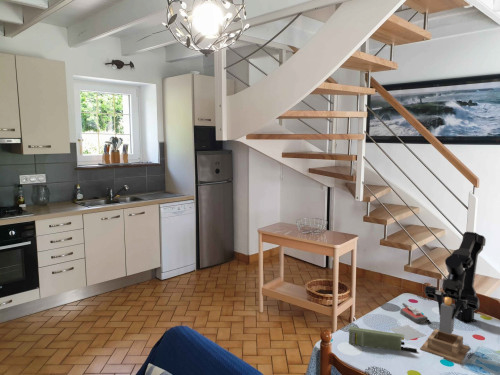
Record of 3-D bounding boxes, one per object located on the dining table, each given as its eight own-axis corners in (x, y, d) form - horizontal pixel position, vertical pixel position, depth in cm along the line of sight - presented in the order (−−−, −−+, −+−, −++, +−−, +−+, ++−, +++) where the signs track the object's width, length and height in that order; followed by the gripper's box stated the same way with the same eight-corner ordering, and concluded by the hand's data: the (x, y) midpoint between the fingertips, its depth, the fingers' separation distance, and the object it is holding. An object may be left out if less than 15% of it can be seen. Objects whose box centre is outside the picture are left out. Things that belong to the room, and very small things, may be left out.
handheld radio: (349, 340, 155) (416, 351, 147) (348, 345, 152) (416, 356, 144) (349, 325, 154) (417, 335, 146) (349, 329, 151) (417, 339, 143)
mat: (407, 326, 167) (407, 324, 167) (425, 336, 158) (426, 335, 158) (389, 330, 163) (389, 329, 163) (407, 341, 154) (407, 340, 154)
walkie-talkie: (434, 324, 169) (404, 306, 189) (434, 314, 169) (404, 297, 188) (417, 326, 167) (389, 308, 186) (418, 317, 167) (389, 299, 186)
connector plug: (442, 327, 150) (444, 295, 148) (453, 330, 147) (455, 298, 146) (439, 330, 147) (441, 298, 145) (450, 334, 144) (452, 301, 143)
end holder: (430, 337, 157) (431, 325, 157) (469, 348, 148) (470, 336, 148) (420, 350, 147) (420, 338, 146) (460, 364, 138) (461, 351, 137)
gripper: (426, 265, 154) (416, 300, 146) (480, 276, 141) (471, 314, 134) (431, 279, 160) (422, 313, 153) (482, 290, 148) (475, 328, 141)
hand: (446, 316), depth 145 cm, fingers closed on connector plug, 4 cm apart
